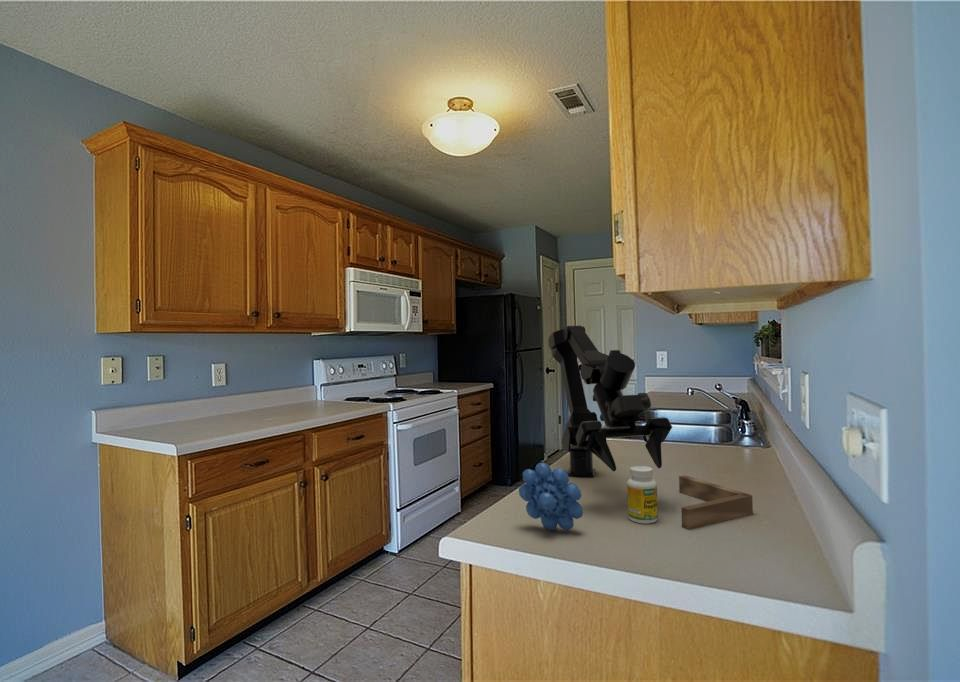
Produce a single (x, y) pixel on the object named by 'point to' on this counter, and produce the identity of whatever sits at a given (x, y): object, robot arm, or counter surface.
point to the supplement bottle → (642, 495)
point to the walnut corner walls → (712, 503)
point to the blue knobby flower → (551, 497)
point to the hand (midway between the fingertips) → (637, 468)
